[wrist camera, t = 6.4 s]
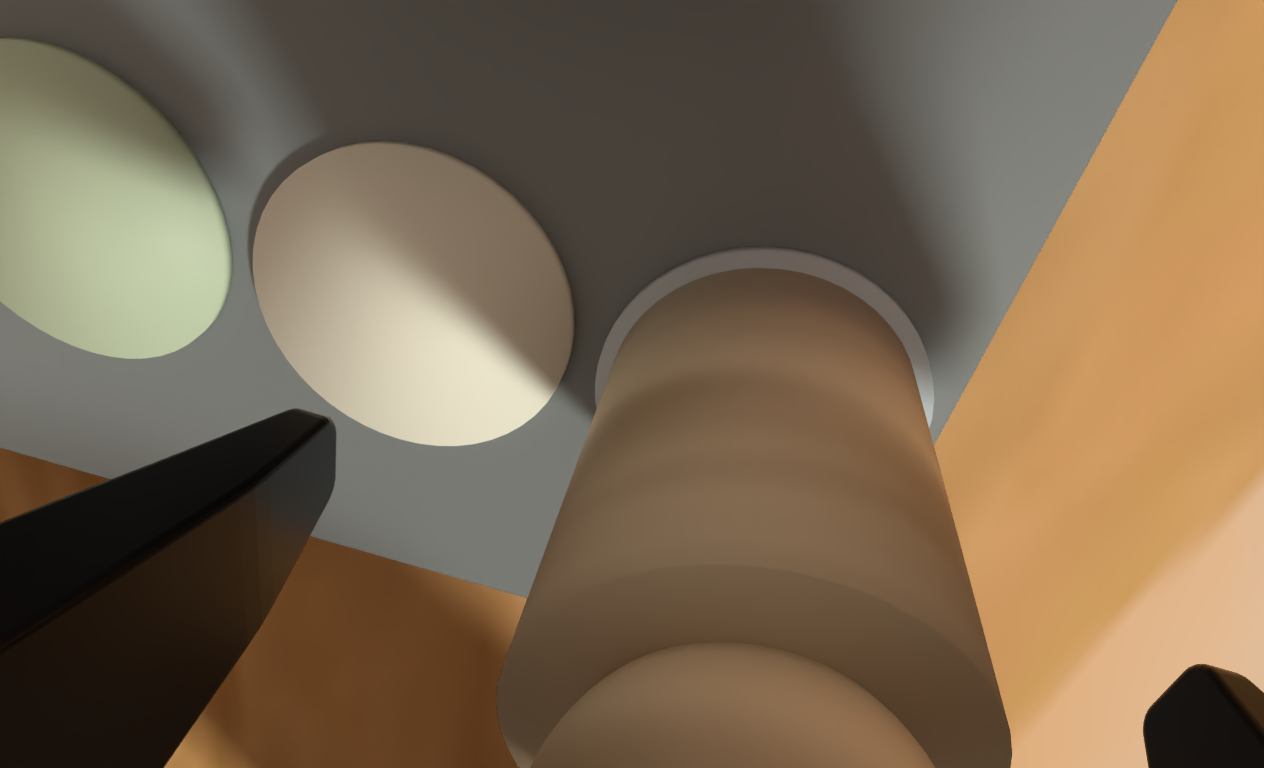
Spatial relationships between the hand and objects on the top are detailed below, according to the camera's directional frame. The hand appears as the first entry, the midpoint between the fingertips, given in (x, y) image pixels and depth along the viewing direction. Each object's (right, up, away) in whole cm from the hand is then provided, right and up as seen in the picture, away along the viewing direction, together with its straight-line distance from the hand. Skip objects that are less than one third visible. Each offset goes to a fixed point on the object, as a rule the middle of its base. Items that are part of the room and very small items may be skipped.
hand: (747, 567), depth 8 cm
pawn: (0, +2, +2) cm, 3 cm away
